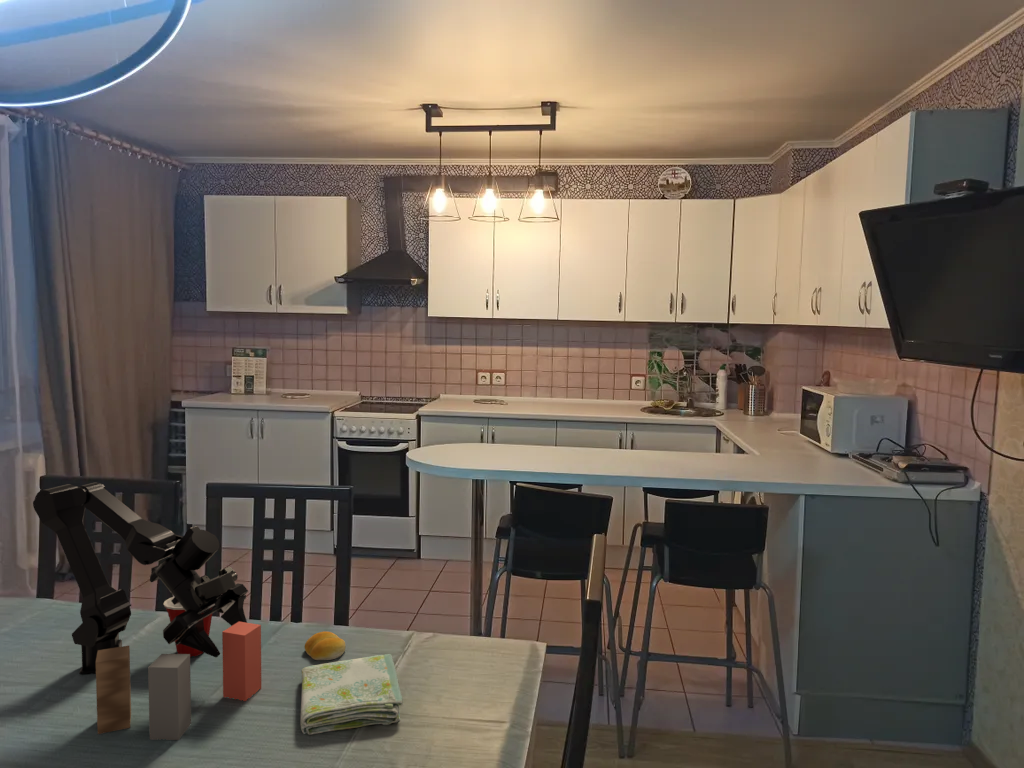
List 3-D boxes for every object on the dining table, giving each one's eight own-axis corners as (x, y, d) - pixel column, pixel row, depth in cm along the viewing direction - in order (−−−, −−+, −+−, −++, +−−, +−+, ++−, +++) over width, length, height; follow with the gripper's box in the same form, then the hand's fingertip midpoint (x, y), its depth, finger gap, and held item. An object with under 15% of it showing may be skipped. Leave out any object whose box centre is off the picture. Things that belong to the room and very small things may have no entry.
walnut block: (97, 734, 125) (95, 662, 124) (99, 719, 130) (97, 650, 129) (130, 727, 128) (128, 657, 126) (131, 713, 132) (129, 645, 131)
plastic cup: (214, 636, 164) (213, 585, 163) (222, 655, 155) (222, 601, 154) (161, 646, 159) (160, 593, 158) (167, 667, 150) (166, 611, 149)
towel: (299, 741, 126) (299, 713, 125) (301, 681, 146) (301, 657, 146) (403, 727, 130) (404, 701, 130) (391, 671, 151) (392, 648, 150)
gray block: (149, 739, 124) (148, 667, 123) (163, 723, 129) (161, 653, 128) (178, 739, 124) (177, 667, 123) (191, 723, 129) (190, 654, 128)
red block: (223, 696, 139) (222, 631, 137) (239, 684, 143) (239, 621, 142) (245, 701, 137) (244, 635, 136) (261, 688, 142) (260, 624, 141)
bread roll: (318, 666, 152) (318, 647, 152) (299, 650, 159) (299, 633, 159) (353, 654, 158) (353, 637, 157) (334, 640, 164) (334, 623, 164)
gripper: (174, 574, 131) (227, 641, 129) (239, 544, 149) (286, 602, 147) (140, 611, 134) (191, 677, 132) (208, 577, 152) (254, 635, 150)
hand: (234, 645), depth 140 cm, fingers open, 9 cm apart
